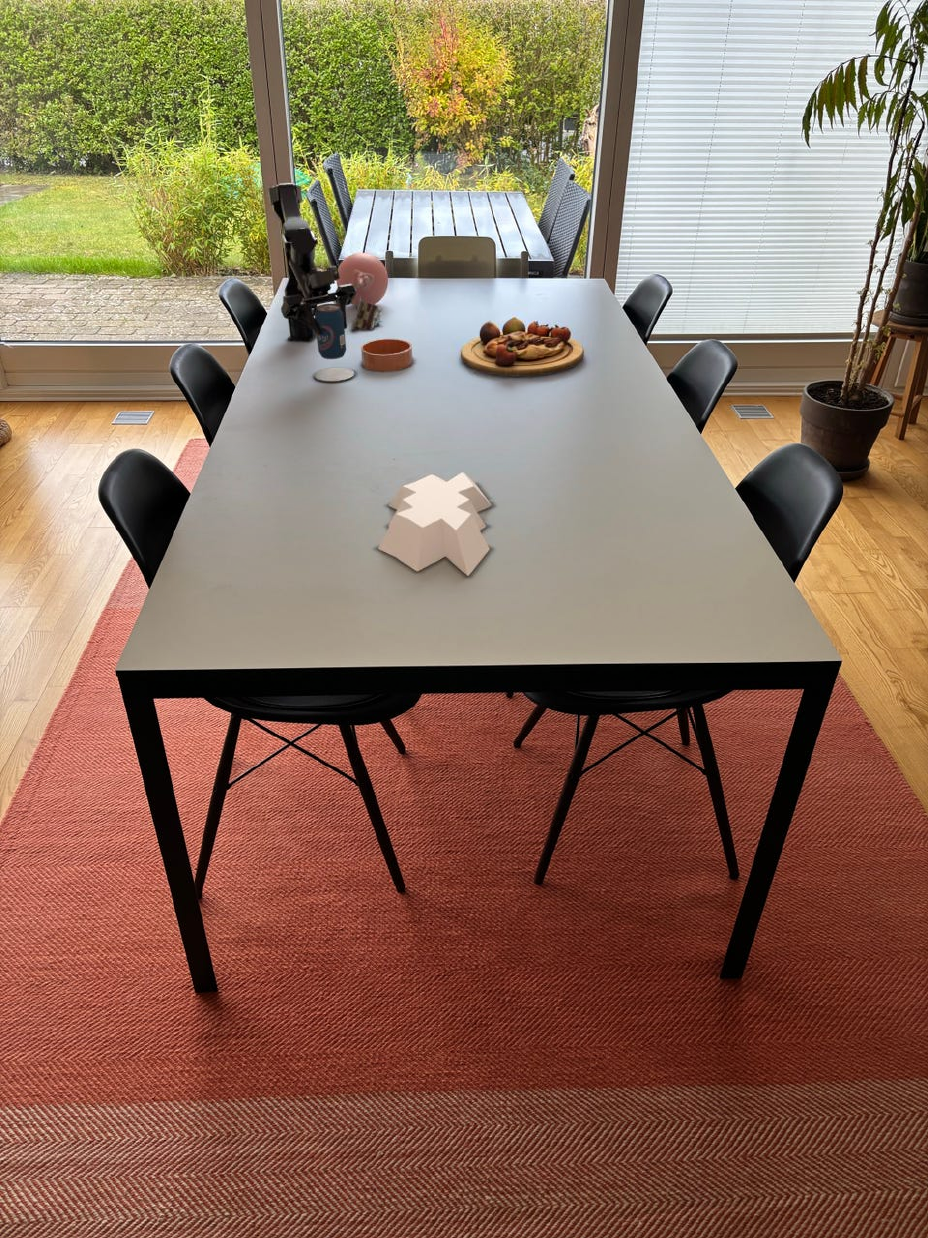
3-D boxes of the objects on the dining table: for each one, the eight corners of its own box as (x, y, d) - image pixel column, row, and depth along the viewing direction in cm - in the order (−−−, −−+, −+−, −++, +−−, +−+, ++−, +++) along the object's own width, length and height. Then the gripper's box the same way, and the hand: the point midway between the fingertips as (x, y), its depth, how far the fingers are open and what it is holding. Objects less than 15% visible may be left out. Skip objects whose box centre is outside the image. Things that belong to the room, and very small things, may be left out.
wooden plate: (538, 388, 237) (539, 354, 233) (435, 363, 254) (434, 331, 249) (606, 351, 258) (608, 320, 254) (507, 331, 275) (507, 301, 270)
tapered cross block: (393, 484, 195) (391, 458, 192) (493, 484, 194) (493, 458, 191) (371, 575, 166) (368, 547, 163) (488, 576, 165) (488, 547, 162)
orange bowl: (355, 369, 251) (354, 353, 249) (372, 352, 262) (371, 337, 259) (403, 372, 248) (402, 356, 246) (418, 356, 259) (417, 340, 256)
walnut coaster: (308, 381, 245) (308, 379, 244) (323, 367, 253) (323, 366, 252) (345, 384, 242) (345, 382, 242) (360, 370, 250) (359, 368, 250)
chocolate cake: (376, 333, 276) (385, 295, 279) (351, 327, 275) (361, 288, 278) (373, 348, 286) (382, 310, 288) (349, 341, 285) (359, 304, 287)
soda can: (313, 357, 244) (308, 309, 237) (329, 349, 249) (324, 301, 242) (336, 361, 241) (332, 312, 234) (352, 353, 246) (348, 304, 239)
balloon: (334, 318, 288) (329, 264, 279) (341, 299, 305) (337, 247, 296) (386, 317, 288) (383, 263, 279) (391, 298, 304) (388, 246, 296)
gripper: (280, 262, 230) (307, 320, 229) (349, 249, 239) (376, 305, 238) (270, 288, 240) (295, 345, 239) (337, 275, 249) (362, 330, 247)
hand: (333, 330), depth 240 cm, fingers closed on soda can, 7 cm apart
